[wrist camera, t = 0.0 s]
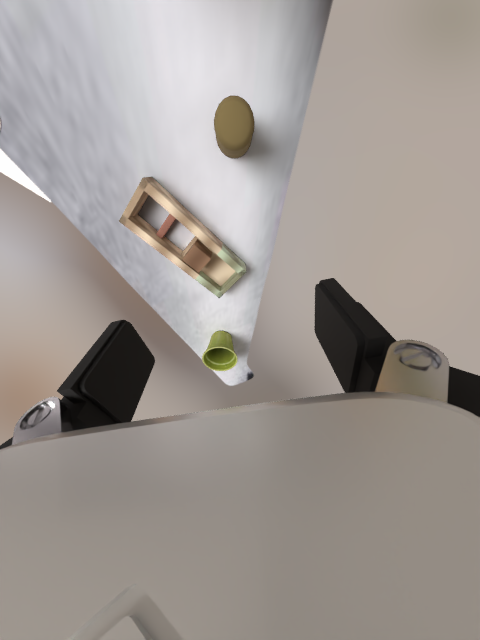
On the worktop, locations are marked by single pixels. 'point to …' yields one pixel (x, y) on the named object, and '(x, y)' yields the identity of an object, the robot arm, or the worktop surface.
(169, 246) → the box
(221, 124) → the cork
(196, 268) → the block
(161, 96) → the worktop surface
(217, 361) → the plant pot
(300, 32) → the worktop surface
